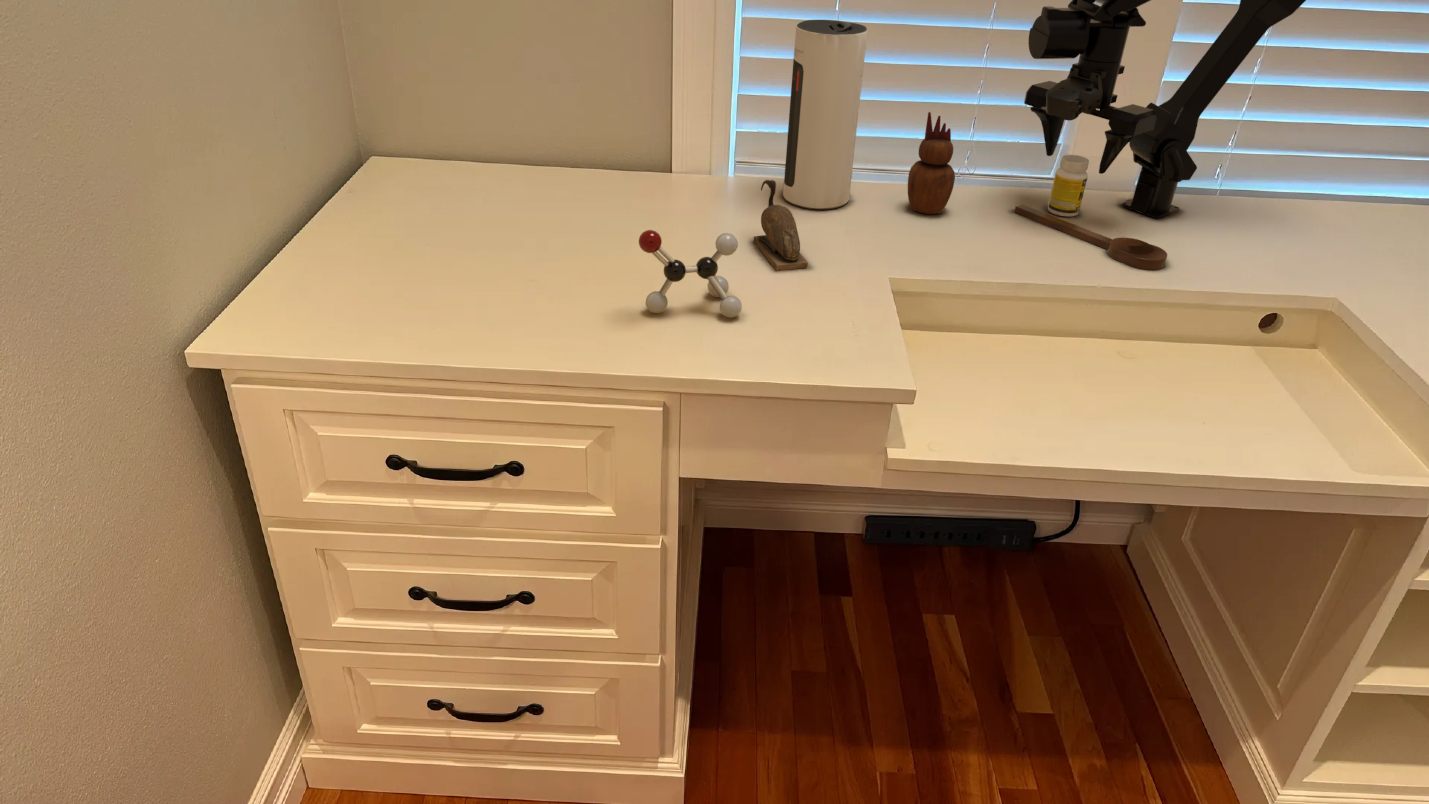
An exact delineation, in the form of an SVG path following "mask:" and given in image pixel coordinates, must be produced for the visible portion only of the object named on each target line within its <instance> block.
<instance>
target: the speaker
mask: <svg viewBox="0 0 1429 804" xmlns="http://www.w3.org/2000/svg"><path fill="white" fill-rule="evenodd" d="M868 30H869V29H868V27H867V26H865V25H863V24H861V23H856V22H852V21H846V20H845V21H844V20H837V19H807V20H803V21H800V22H798V23H796V25H795V35H794V36H795V37H794V49H793V61H792V75H791V88H790V98H789V99H790V101H789V114H788V127H787V140H786V152H785V153H786V154H785V166H784V178H783V190H782V191H783V192H782V196H783V198H784V200H785V201H786V202H787V203H789V204H791V205H794V206H797V207H800V208H804V209H808V210H809V209H810V210H834V209H837V208H838V209H839V208H840V207H843V206H845V205H847V203H848V202H849V200H850V198H851V189H852V188H851V187H852V179H853V168H854V160H855V159H854V158H855V148H856V141H857V140H856V139H857V129H858V121H859V113H860V112H859V111H860V103H861V93H862V85H863V78H864V77H863V76H864V66H865V56H866V50H867V49H866V48H867V39H868Z"/></svg>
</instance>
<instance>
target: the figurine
mask: <svg viewBox="0 0 1429 804" xmlns="http://www.w3.org/2000/svg"><path fill="white" fill-rule="evenodd" d="M765 185H767V186H768V189H770V190H769V191H770V192H769V193H770V194H769V196H768V197H769V198H768V203H767V204H768V206H767V207H766V208H765V209H764V210H763V211H762V213H761V216H760V224H761V229H762V231H763V232H764V234H763V235H754V236H753V241H752V242H753V243H754V244H755V246H756V247H757V248H758V249H759V251H760V252H761V253H762V254H763V256H764V257H765V258H766V260H767V261H768V262H769V264H770V265H771V266H772V267H773V268H774V270H775V271H785V270H786V271H787V270H795V269H796V270H797V269H804V268H805V269H806V268H808V266H809V262H808V261H807V259H806V258H805V257H804V256H803V255H802V254H801V253H800V251H801V241H800V236H799V232H798V227H797V222H796V220H795V217H794V215H793V213H792V211H791V210H790V209H789V208H788V207H786V206H784V205H780V204H774V197H775V194H776V190H777V182H776V181H775V180H773V179H771V180H770V179H766V180H764V181H763V182H762V184H761V187H760V191H763V188H764V186H765Z"/></svg>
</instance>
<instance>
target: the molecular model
mask: <svg viewBox="0 0 1429 804" xmlns="http://www.w3.org/2000/svg"><path fill="white" fill-rule="evenodd" d="M662 243H663V240H662V237H661V235H660V233H658V232H657V231H656V230H653V229H647V230H644V231H643V232H642V233H641V234H640V236H639V239H638V247H640V249H641V250H642V251H643V252H645V253H646V254H652V255H653V256H654V257H655V258H656V259H657V260H658V261H660V263H661V264H662V265H663V266H664V267H663V275H664V277H665V278H666V279H665V281H664V283H663V285H662V286H661V288H660V290H659V291H657V290H655V291H652V292H650V293H649V294H648V295H647V296H646V299H645V307H646V308H647V310H648V311H649V312H651V313H652V314H660V313H663V312H664V311H665V310H666V309H667V307H668V303H669V301H668V298H667V296H666V295H667V292H668V291H669V290H670V288H671V286H672V284H673V283H679V282H680V281H682V280H684V278H685V276H686V274H693V273H696V274H697V276H698V277H699V278H701V279H704V280H707V281H708V282H707V291H708V293H709V294H710V295H711V296H712V297H714V298H720V299H721V301H720V302H719V310H720V312H721V314H722V315H723V316H724V317H726V318H730V319H732V318H733V319H734V318H735V317H738V316H739V315H740V314H741V312H742V310H743V305H742V301H741V299H739V298H738V297H737V296H735V295H727V293H728V291H729V289H730V285H729V282H728V280H727V279H726V278H725V277H724V276H722V275H717V274H718V270H719V265H718V263H717V262H718V261H719V260H720V258H721V257H723V256H725V257H726V256H727V257H729V256H731V255H734V254H735V253H736V251H737V250H738V247H739V242H738V239H737V237H736V236H735V235H734V234H732V233H731V232H730V233H729V232H723V233H721V234H720V235H719V236H717V238H716V240H715V243H714V244H715V249H716V251H715V252H714V254H713V255H712V256H711V257H710V256H703V257H701V258H699V260H698V261H697V262H696V264H695V265H687V266H686V265H685V264H684V262H683V261H681V260H679V259H675V258H673V257H672V256H671V255H670V254H669V253H668V252H667V251H666V250H665V249H664V248H663V247H662Z"/></svg>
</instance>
